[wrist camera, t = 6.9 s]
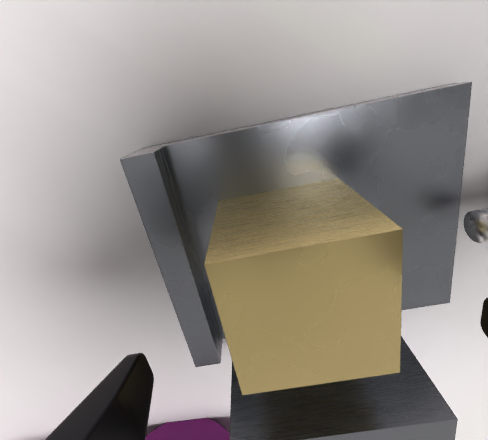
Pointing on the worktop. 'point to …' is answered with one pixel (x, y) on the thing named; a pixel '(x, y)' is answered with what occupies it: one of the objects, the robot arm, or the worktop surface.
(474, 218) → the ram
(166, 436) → the mounting bracket
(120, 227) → the worktop surface
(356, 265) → the block
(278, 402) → the frame
